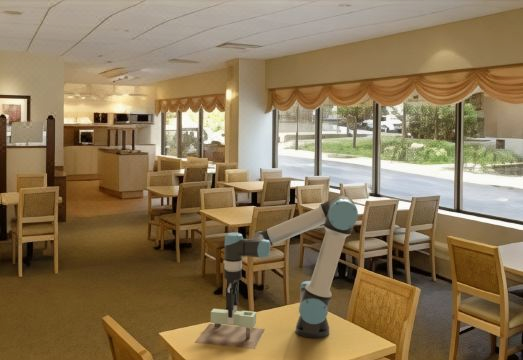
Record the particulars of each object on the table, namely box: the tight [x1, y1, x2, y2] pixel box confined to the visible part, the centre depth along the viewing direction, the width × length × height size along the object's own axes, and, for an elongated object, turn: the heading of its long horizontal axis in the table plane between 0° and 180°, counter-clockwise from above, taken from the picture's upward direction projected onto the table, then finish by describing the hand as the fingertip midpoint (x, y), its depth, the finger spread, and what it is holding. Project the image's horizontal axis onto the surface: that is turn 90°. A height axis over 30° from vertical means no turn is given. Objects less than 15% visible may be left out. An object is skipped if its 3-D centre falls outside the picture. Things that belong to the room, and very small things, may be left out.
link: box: [210, 308, 257, 328], centre depth 232 cm, size 19×6×5 cm, turn 78°
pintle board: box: [194, 323, 266, 350], centre depth 234 cm, size 26×22×10 cm
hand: (232, 321), depth 232 cm, fingers closed on link, 4 cm apart
